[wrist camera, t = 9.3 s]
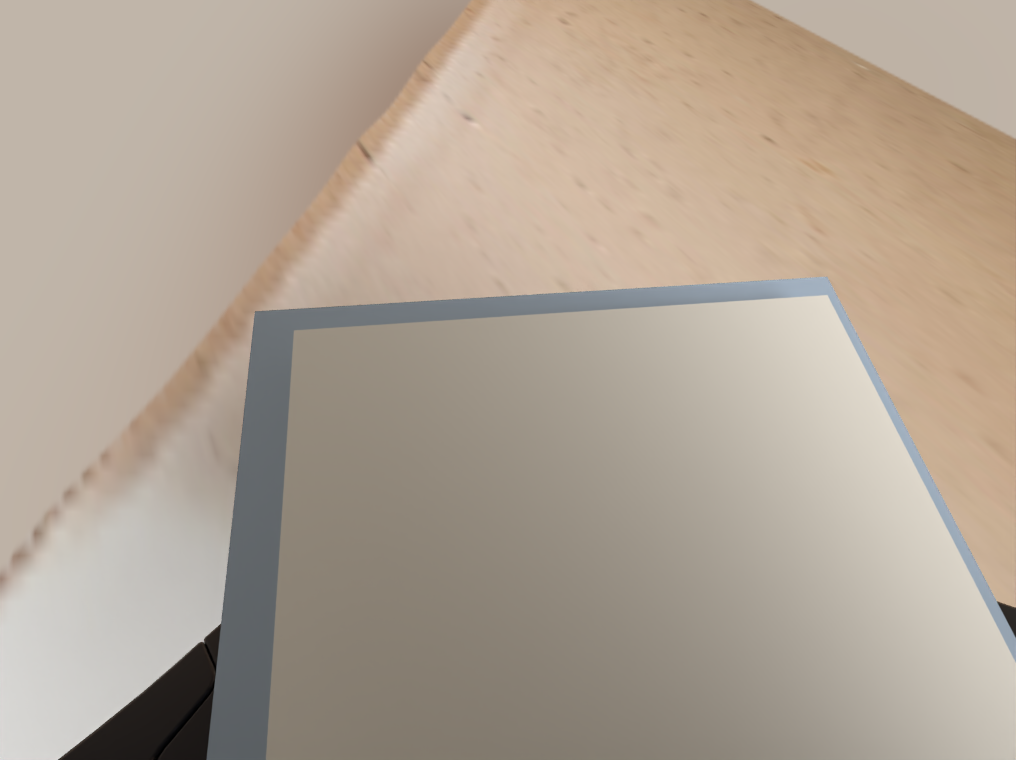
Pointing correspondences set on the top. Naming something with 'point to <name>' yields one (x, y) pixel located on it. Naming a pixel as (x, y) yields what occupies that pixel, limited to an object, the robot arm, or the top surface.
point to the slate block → (595, 540)
